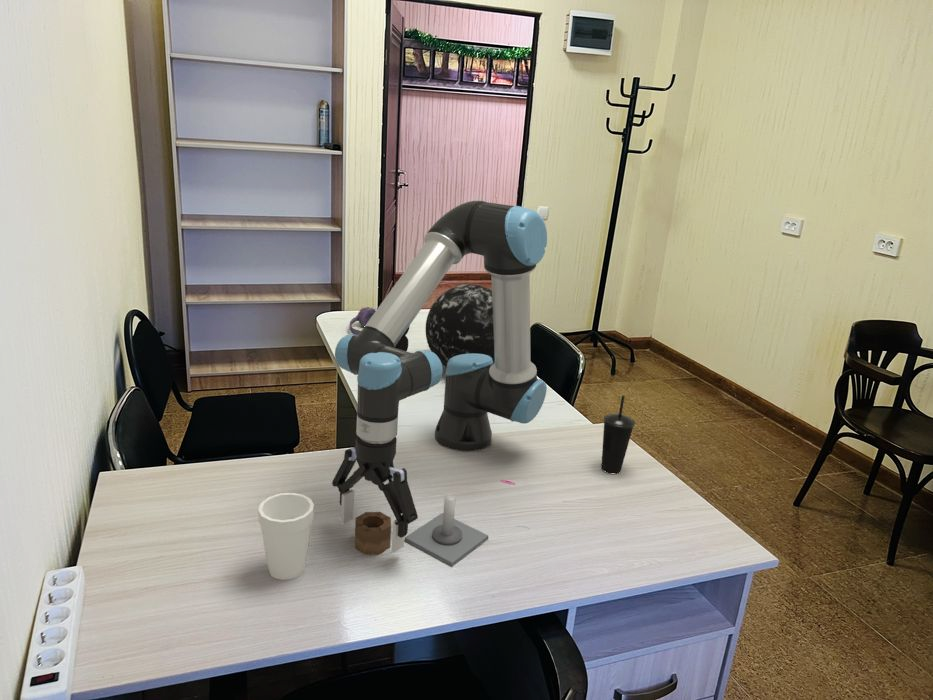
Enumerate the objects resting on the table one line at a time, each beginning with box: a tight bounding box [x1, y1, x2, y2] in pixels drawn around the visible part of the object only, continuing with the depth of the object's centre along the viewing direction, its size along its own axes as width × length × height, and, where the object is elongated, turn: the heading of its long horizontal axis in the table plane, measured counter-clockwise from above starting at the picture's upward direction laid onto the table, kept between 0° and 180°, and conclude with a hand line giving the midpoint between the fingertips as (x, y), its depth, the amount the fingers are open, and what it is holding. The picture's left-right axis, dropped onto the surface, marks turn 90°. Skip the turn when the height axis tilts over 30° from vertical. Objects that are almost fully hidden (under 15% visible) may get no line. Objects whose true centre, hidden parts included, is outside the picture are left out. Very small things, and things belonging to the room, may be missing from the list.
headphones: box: [349, 306, 377, 335], centre depth 259 cm, size 18×8×20 cm
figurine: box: [394, 325, 411, 352], centre depth 229 cm, size 10×7×15 cm
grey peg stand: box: [404, 494, 489, 567], centre depth 132 cm, size 12×12×10 cm
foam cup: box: [257, 492, 315, 581], centre depth 119 cm, size 10×9×13 cm
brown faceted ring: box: [354, 511, 392, 555], centre depth 130 cm, size 7×7×5 cm
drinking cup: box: [601, 395, 636, 475], centre depth 164 cm, size 8×8×20 cm
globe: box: [425, 283, 495, 368], centre depth 222 cm, size 30×30×30 cm
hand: (371, 534), depth 130 cm, fingers open, 13 cm apart
